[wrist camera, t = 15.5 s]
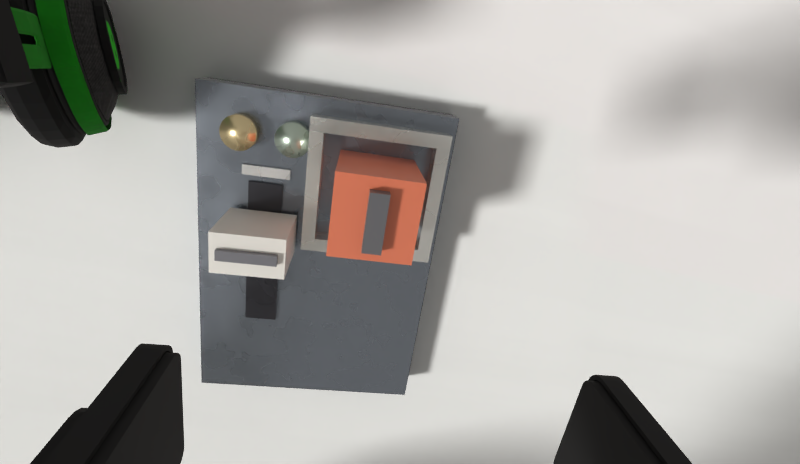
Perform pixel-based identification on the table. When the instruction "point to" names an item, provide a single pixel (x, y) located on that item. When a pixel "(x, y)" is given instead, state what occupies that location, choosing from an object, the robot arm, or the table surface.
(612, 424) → the robot arm
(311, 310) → the panel
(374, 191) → the cap
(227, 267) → the block
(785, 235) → the table surface
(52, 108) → the headphones
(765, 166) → the table surface
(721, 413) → the table surface
